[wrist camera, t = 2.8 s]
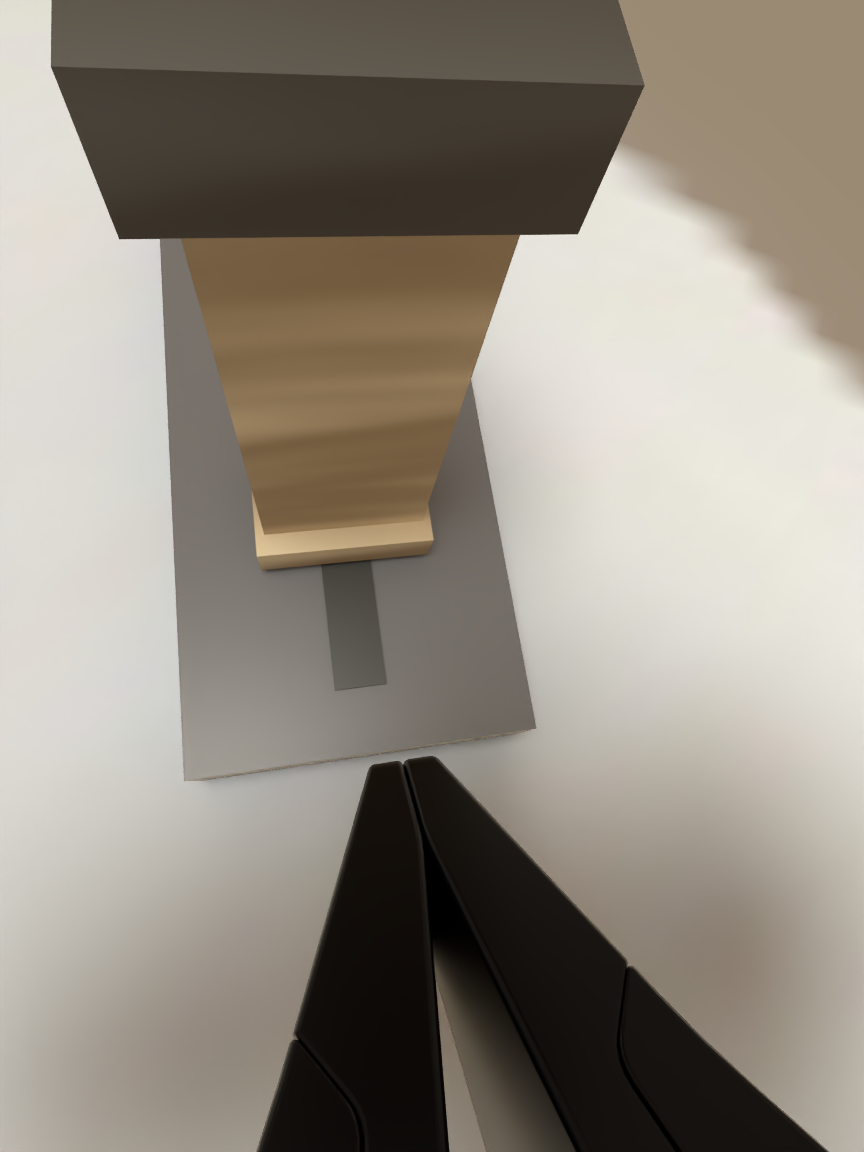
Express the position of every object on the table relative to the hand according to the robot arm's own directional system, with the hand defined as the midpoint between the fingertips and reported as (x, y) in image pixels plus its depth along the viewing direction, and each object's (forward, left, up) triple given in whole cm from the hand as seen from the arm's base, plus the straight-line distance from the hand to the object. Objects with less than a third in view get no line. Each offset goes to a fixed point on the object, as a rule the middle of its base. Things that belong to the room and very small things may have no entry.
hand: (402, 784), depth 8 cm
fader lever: (+6, -1, -7) cm, 9 cm away
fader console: (+9, -2, -9) cm, 13 cm away
